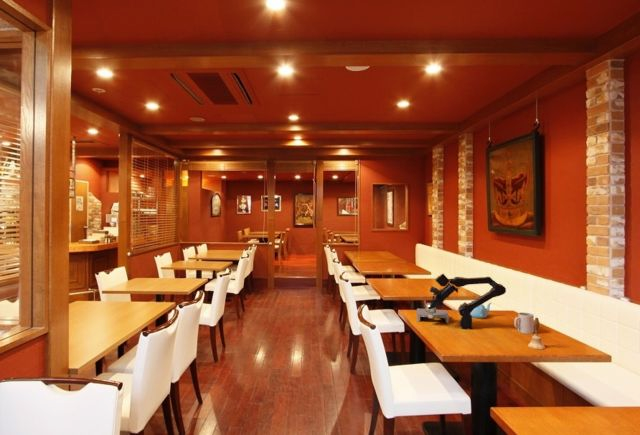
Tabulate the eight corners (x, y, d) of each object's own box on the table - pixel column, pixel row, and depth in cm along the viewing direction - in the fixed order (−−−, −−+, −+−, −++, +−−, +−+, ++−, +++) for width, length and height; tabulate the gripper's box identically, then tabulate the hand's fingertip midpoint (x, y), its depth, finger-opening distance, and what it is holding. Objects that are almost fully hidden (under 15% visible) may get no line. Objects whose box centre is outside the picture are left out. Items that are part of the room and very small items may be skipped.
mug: (526, 329, 239) (526, 312, 239) (536, 333, 231) (537, 315, 231) (509, 330, 237) (510, 313, 237) (519, 334, 228) (519, 316, 228)
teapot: (482, 320, 259) (483, 305, 259) (461, 316, 270) (462, 301, 270) (491, 316, 269) (492, 302, 269) (471, 312, 280) (471, 298, 280)
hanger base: (446, 317, 266) (446, 310, 266) (448, 323, 251) (448, 316, 251) (416, 315, 271) (416, 308, 271) (417, 321, 255) (417, 314, 255)
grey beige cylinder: (435, 316, 250) (435, 303, 250) (436, 319, 244) (436, 305, 244) (425, 316, 251) (425, 302, 251) (425, 318, 245) (425, 304, 245)
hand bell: (524, 344, 211) (524, 316, 211) (538, 344, 212) (538, 315, 212) (534, 349, 203) (534, 320, 203) (548, 349, 204) (549, 319, 204)
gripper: (436, 280, 255) (419, 295, 258) (437, 285, 237) (419, 301, 240) (449, 292, 253) (431, 307, 256) (450, 298, 235) (432, 314, 238)
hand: (428, 307), depth 248 cm, fingers closed on grey beige cylinder, 6 cm apart
